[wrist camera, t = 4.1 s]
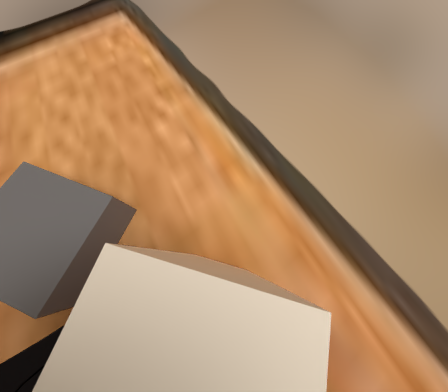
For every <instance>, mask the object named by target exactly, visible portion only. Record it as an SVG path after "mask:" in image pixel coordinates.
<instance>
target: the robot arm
mask: <svg viewBox="0 0 448 392" xmlns="http://www.w3.org/2000/svg"><path fill="white" fill-rule="evenodd" d="M64 326H65V325H64ZM64 326H62V327H61V328H59V329H58V330H56V331H54V332H53V333H51V334H50V335H48V336H47V337H45V338H43V339H42V340H40V341H39V342H37V343H35V344H34V345H32V346H30V347H28V348H27V349H25V350H23V351H22V352H20V353H18V354H17V355H15V356H13V357H12V358H10V359H8V360H6V361H5V362H3V363H1V364H0V392H32V391H33V389H34V387H35V385H36V383H37V381H38V379H39V377H40V374H41V372H42V370H43V368H44V366H45V364H46V362H47V360H48V358H49V356H50V354H51V352H52V350H53V348H54V346H55V344H56V342H57V340H58V338H59V336H60V334H61V332H62V330H63V328H64Z"/></svg>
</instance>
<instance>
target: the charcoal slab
mask: <svg viewBox="0 0 448 392" xmlns="http://www.w3.org/2000/svg"><path fill="white" fill-rule="evenodd" d="M135 212H136V209H134V208H132V207H130V206H129V205H127V204H125V203H123V202H122V201H120V200H118V199H116V198H114V197H113V196H110V195H107V194H105V193H102V192H100V191H97V190H95V189H92V188H90V187H87V186H85V185H82V184H80V183H77V182H74V181H72V180H69V179H67V178H64V177H62V176H59V175H57V174H54V173H52V172H49V171H47V170H44V169H41V168H39V167H36V166H34V165H31V164H29V163H26V162H23V163H22V164H21V165H20V166H19V167H18V169H17V170H16V171H15V172H14V173H13V174H12V175H11V176H10V178H9V179H8V180H7V181H6V182H5V183H4V184H3V186H2V187H1V188H0V301H2V302H4V303H6V304H7V305H9V306H11V307H13V308H15V309H17V310H19V311H21V312H23V313H25V314H27V315H29V316H31V317H33V318H34V319H37V318H40V317H43V316H46V315H49V314H52V313H55V312H58V311H62V310H65V309H68V308H71V307H74V306H75V304H76V301H77V299H78V297H79V295H80V293H81V291H82V289H83V287H84V285H85V283H86V281H87V279H88V277H89V275H90V273H91V271H92V269H93V267H94V265H95V263H96V261H97V259H98V257H99V255H100V253H101V251H102V249H103V247H104V245H105V243H111V244H118V242H119V240H120V239H121V237H122V235H123V233H124V232H125V230H126V228H127V226H128V225H129V223H130V221H131V219H132V217H133V216H134V214H135Z"/></svg>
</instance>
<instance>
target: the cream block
mask: <svg viewBox="0 0 448 392" xmlns="http://www.w3.org/2000/svg"><path fill="white" fill-rule="evenodd" d="M330 325H331V312H329V311H327V310H325V309H323V308H321V307H319V306H317V305H315V304H313V303H311V302H309V301H307V300H305V299H303V298H301V297H299V296H297V295H295V294H293V293H291V292H289V291H287V290H285V289H283V288H281V287H279V286H277V285H275V284H273V283H271V282H269V281H267V280H265V279H263V278H261V277H260V276H258V275H256V274H254V273H252V272H250V271H248V270H245V269H242V268H238V267H235V266H232V265H228V264H225V263H222V262H218V261H215V260H212V259H209V258H205V257H202V256H199V255H194V254H187V253H179V252H172V251H164V250H156V249H149V248H141V247H134V246H126V245H118V244H111V243H105V245H104V247H103V249H102V251H101V253H100V255H99V257H98V259H97V261H96V263H95V265H94V267H93V269H92V271H91V273H90V275H89V277H88V279H87V281H86V283H85V285H84V287H83V289H82V291H81V293H80V295H79V297H78V299H77V301H76V304H75V306H74V308H73V310H72V312H71V314H70V316H69V318H68V320H67V322H66V324H65V326H64V328H63V330H62V332H61V334H60V336H59V338H58V340H57V342H56V344H55V346H54V348H53V350H52V352H51V354H50V356H49V358H48V360H47V362H46V364H45V366H44V368H43V370H42V372H41V374H40V377H39V379H38V381H37V383H36V385H35V387H34V389H33V391H32V392H326V387H327V371H328V356H329V341H330Z"/></svg>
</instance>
